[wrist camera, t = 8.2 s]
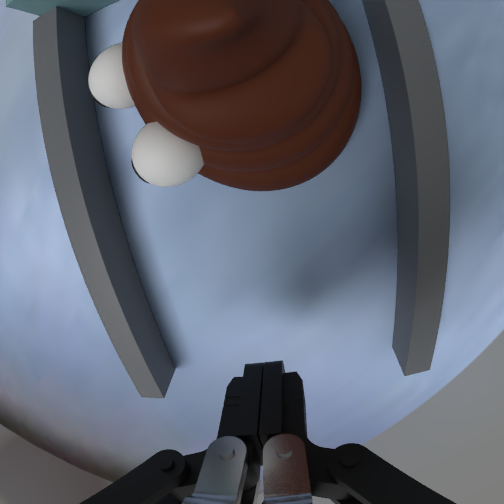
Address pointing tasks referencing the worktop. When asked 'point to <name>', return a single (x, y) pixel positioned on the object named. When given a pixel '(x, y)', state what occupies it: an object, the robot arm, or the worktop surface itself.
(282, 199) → the worktop surface
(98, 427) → the worktop surface
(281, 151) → the poop emoji
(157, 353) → the channel
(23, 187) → the worktop surface
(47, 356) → the worktop surface
